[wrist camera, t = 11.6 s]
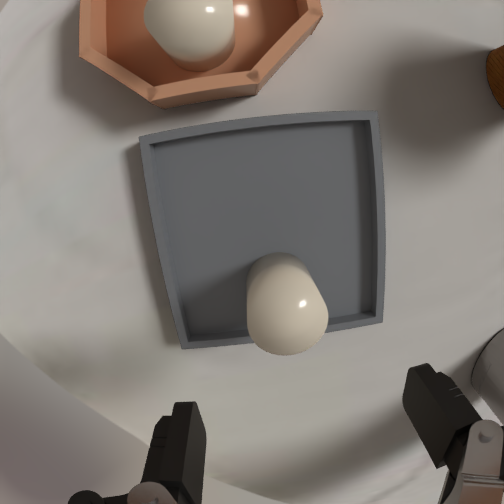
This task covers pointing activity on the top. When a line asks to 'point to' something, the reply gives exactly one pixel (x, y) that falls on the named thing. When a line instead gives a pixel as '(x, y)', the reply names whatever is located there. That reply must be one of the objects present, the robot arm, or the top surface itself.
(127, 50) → the terracotta bowl
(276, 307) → the pebble
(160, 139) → the tray
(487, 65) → the disposable coffee cup
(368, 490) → the top surface
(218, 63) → the pebble
